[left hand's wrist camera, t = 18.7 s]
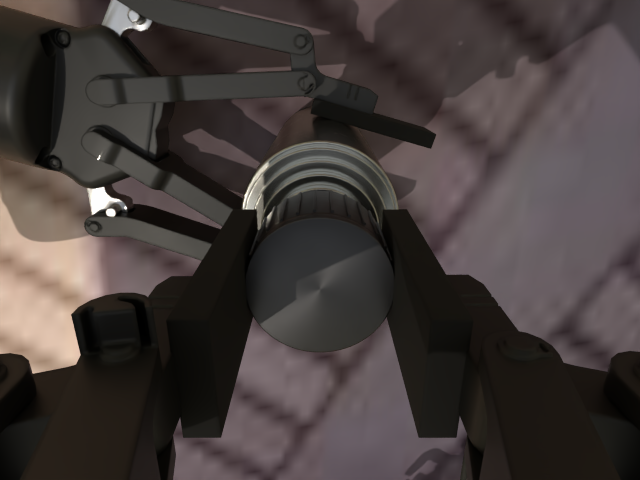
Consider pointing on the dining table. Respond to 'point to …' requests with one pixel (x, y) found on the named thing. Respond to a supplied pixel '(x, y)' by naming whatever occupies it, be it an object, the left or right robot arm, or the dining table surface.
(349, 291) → the cap
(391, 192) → the bottle
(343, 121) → the right robot arm
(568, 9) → the dining table surface
